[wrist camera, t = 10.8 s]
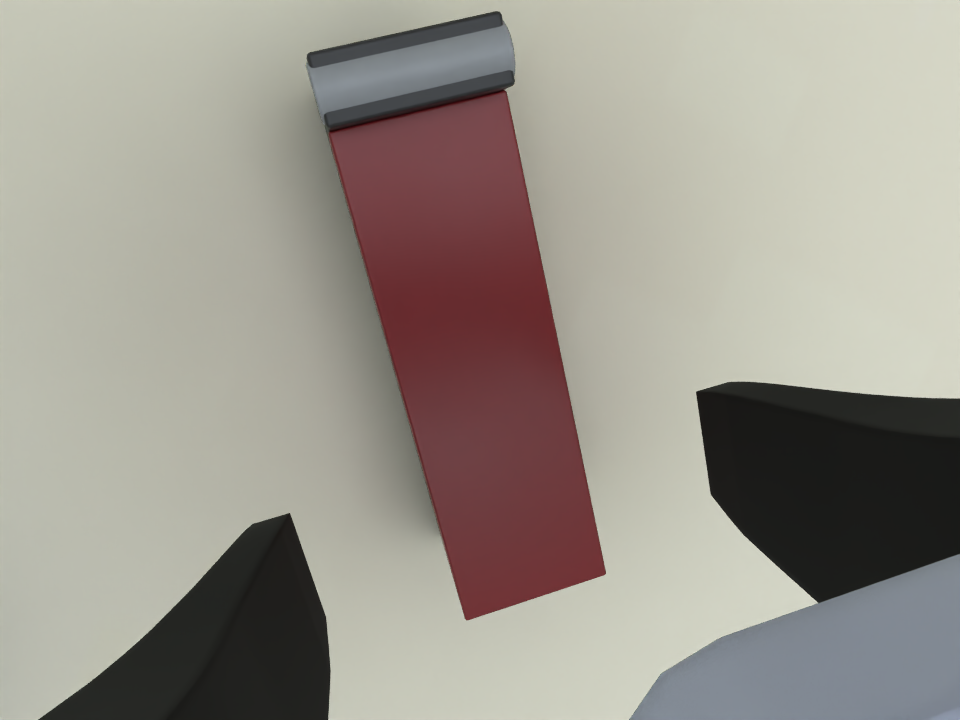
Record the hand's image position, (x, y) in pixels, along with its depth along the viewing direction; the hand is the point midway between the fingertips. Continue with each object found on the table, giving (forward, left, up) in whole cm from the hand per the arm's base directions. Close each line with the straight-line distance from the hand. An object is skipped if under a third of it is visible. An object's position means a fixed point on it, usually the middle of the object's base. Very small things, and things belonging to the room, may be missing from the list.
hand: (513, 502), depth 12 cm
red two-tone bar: (-1, +1, -8) cm, 9 cm away
